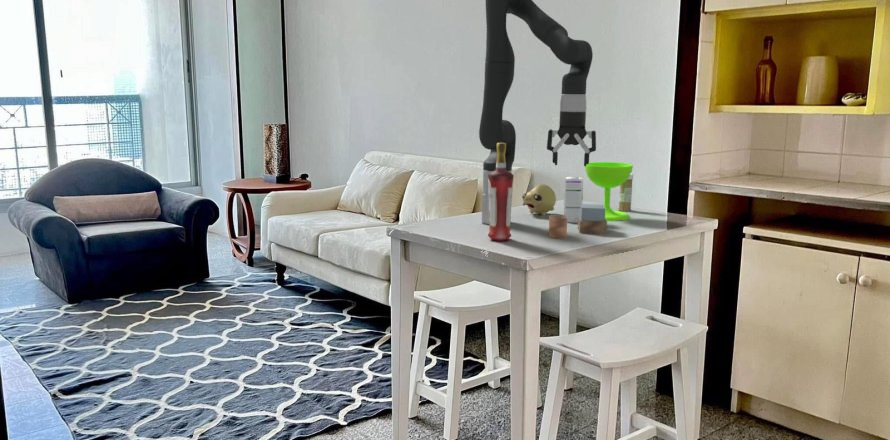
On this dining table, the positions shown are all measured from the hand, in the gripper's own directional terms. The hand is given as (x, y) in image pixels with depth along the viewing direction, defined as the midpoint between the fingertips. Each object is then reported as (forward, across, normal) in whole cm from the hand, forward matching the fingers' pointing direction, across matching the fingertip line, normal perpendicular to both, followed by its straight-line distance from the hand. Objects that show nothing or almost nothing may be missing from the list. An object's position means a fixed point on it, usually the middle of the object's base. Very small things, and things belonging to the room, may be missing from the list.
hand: (570, 165), depth 216 cm
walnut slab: (+21, +7, +8) cm, 24 cm away
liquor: (+21, -19, -12) cm, 31 cm away
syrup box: (+21, +1, +23) cm, 32 cm away
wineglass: (+21, +12, +34) cm, 42 cm away
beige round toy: (+21, -11, +33) cm, 41 cm away
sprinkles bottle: (+21, +18, +49) cm, 57 cm away
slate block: (+17, +7, +8) cm, 20 cm away
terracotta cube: (+21, -3, -3) cm, 22 cm away
